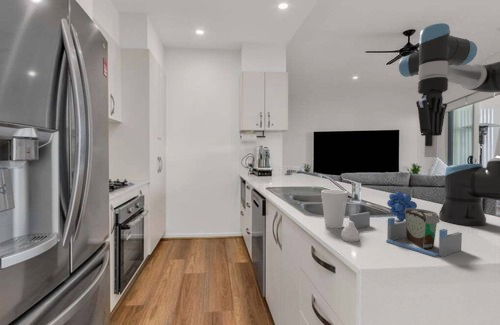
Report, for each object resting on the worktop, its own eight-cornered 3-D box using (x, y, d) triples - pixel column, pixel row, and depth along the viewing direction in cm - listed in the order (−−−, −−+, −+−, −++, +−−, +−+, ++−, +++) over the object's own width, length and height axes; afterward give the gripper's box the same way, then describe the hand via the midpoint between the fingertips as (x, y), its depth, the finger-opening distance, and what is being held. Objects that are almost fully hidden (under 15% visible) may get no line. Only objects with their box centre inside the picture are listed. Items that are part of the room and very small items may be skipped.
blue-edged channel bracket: (367, 225, 106) (367, 206, 105) (461, 250, 79) (462, 226, 78) (345, 229, 100) (345, 209, 99) (438, 258, 73) (439, 231, 72)
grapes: (382, 219, 114) (382, 190, 114) (389, 217, 119) (390, 189, 118) (412, 225, 105) (413, 194, 105) (419, 222, 109) (420, 192, 109)
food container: (449, 252, 77) (450, 216, 77) (426, 252, 77) (427, 216, 77) (423, 238, 89) (424, 207, 89) (403, 238, 90) (404, 207, 89)
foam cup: (321, 228, 101) (321, 192, 101) (320, 221, 110) (321, 189, 110) (348, 229, 99) (349, 193, 98) (345, 223, 108) (346, 190, 107)
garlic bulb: (363, 222, 86) (347, 223, 85) (362, 241, 86) (347, 243, 85) (352, 218, 91) (338, 219, 90) (352, 236, 91) (337, 237, 90)
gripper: (431, 84, 90) (429, 156, 91) (407, 79, 84) (405, 157, 85) (457, 79, 84) (455, 157, 85) (434, 73, 77) (431, 157, 78)
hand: (430, 157), depth 85 cm, fingers closed
